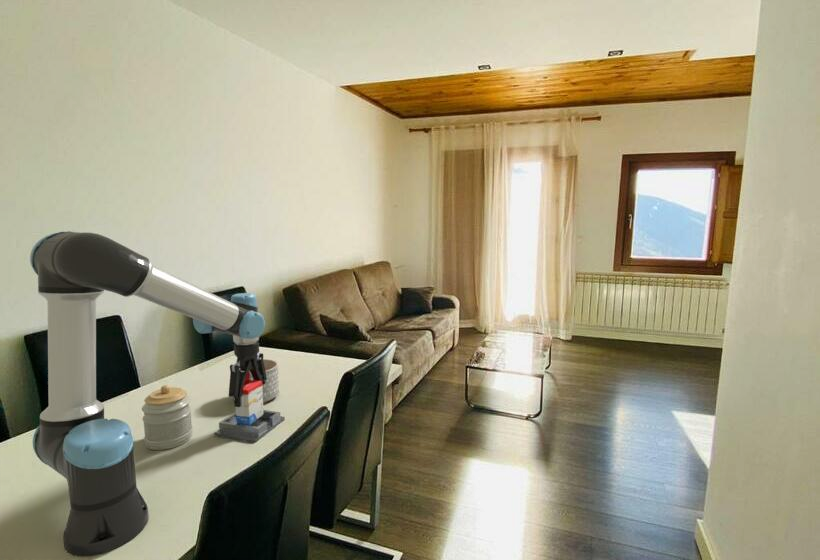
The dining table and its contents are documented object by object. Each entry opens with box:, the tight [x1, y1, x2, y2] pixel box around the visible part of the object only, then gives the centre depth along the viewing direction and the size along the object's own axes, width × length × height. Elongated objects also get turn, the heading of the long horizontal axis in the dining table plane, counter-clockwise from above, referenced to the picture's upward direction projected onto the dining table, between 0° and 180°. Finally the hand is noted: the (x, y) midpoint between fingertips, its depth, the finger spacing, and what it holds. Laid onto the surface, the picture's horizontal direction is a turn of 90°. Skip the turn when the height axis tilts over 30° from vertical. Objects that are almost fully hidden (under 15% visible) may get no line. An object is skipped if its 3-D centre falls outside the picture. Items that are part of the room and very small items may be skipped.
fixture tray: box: [213, 409, 286, 444], centre depth 140 cm, size 16×15×4 cm
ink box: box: [236, 372, 264, 425], centre depth 138 cm, size 8×5×15 cm, turn 168°
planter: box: [232, 358, 280, 404], centre depth 163 cm, size 16×16×13 cm
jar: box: [141, 384, 194, 451], centre depth 131 cm, size 13×13×18 cm
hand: (249, 409), depth 139 cm, fingers closed on ink box, 9 cm apart
